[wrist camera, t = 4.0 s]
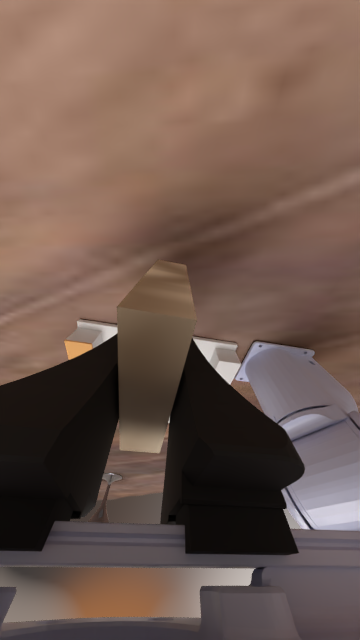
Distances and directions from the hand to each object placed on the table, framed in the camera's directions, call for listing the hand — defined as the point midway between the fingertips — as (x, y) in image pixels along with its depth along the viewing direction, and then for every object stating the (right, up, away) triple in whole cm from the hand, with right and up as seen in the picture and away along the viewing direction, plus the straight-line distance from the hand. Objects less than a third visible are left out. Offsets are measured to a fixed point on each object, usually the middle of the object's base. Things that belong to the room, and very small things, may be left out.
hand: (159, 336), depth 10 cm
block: (0, +2, +3) cm, 3 cm away
